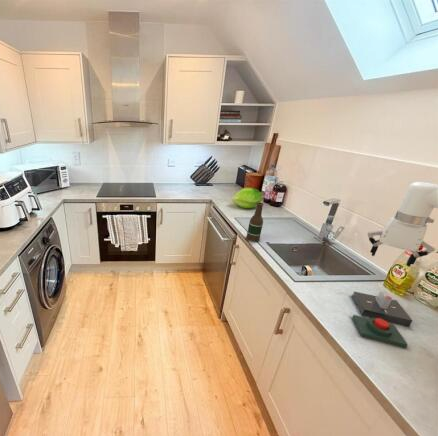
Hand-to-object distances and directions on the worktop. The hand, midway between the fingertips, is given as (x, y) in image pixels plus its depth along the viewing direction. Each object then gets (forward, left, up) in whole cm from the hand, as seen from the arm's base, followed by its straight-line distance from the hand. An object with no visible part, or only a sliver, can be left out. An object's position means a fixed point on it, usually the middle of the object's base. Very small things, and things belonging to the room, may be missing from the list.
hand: (389, 259), depth 89 cm
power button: (+3, +17, -18) cm, 25 cm away
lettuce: (+50, -99, -22) cm, 113 cm away
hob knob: (-2, +4, -18) cm, 19 cm away
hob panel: (-2, +4, -21) cm, 22 cm away
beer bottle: (+44, -41, -22) cm, 64 cm away
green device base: (+3, +17, -21) cm, 27 cm away
